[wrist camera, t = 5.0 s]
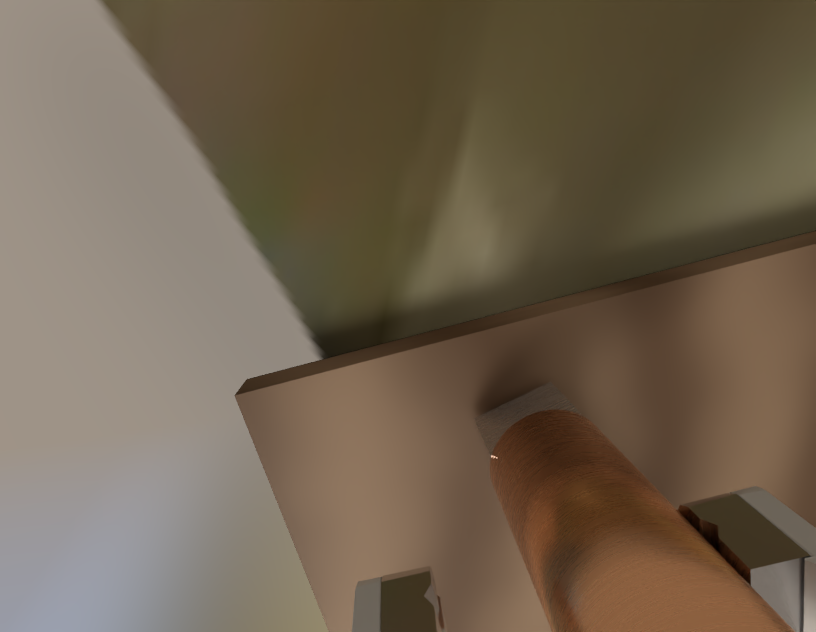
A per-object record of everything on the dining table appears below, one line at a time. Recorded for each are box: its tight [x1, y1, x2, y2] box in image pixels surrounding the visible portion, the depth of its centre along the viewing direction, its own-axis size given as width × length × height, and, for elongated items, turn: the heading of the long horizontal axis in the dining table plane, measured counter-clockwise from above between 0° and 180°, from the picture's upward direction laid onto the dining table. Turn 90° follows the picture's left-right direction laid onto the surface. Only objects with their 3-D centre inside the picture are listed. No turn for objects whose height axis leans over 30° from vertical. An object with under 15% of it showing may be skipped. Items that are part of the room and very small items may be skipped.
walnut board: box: [235, 231, 816, 632], centre depth 14 cm, size 24×23×6 cm
